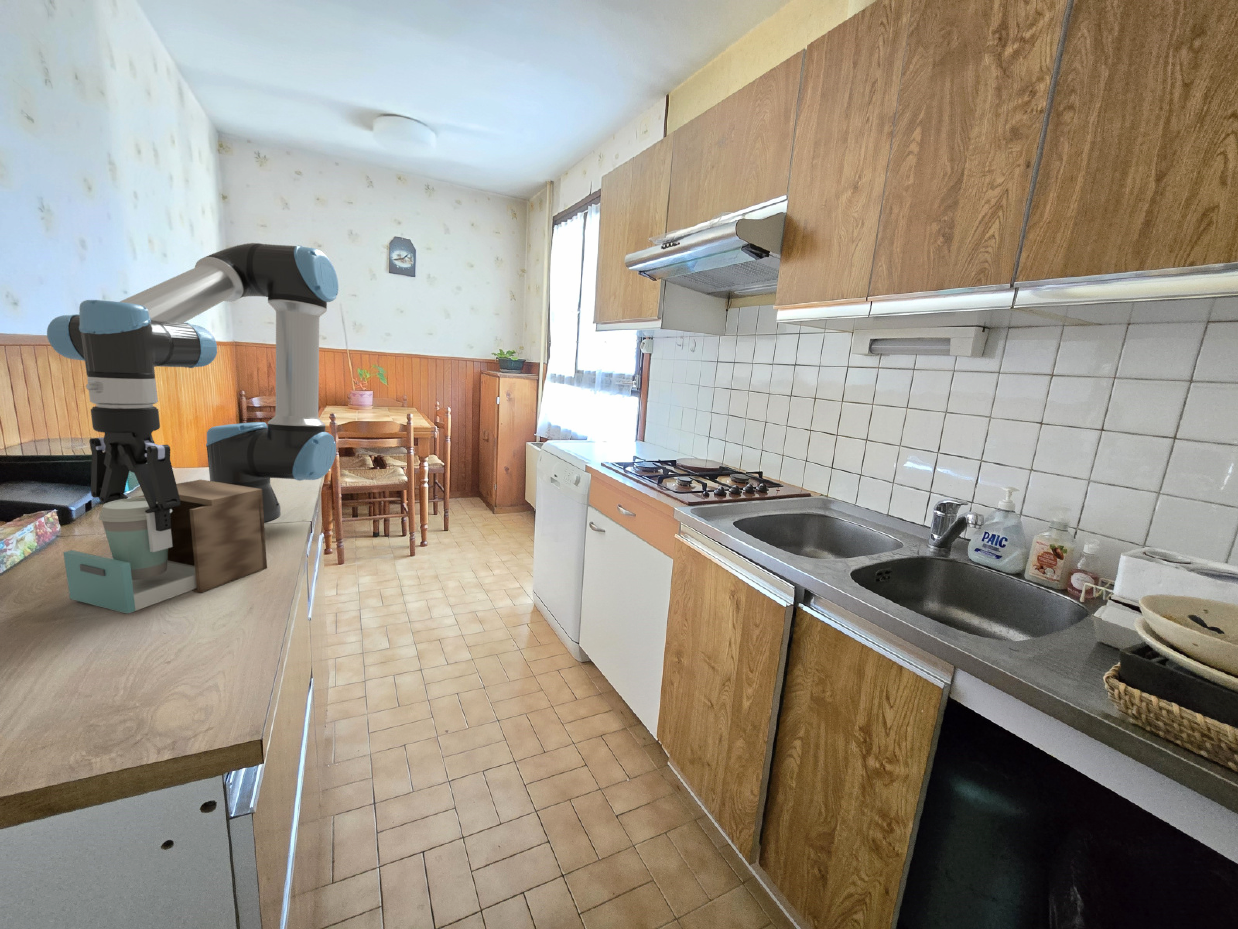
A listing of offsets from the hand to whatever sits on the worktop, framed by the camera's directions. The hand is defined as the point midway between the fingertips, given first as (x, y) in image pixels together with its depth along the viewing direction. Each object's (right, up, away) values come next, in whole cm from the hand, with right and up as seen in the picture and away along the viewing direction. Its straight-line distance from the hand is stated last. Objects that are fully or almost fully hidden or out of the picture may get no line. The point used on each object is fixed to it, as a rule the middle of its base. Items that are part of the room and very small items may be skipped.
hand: (140, 544), depth 82 cm
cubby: (+2, -7, +10) cm, 12 cm away
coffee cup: (0, -5, +1) cm, 5 cm away
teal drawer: (-1, -8, +1) cm, 8 cm away
